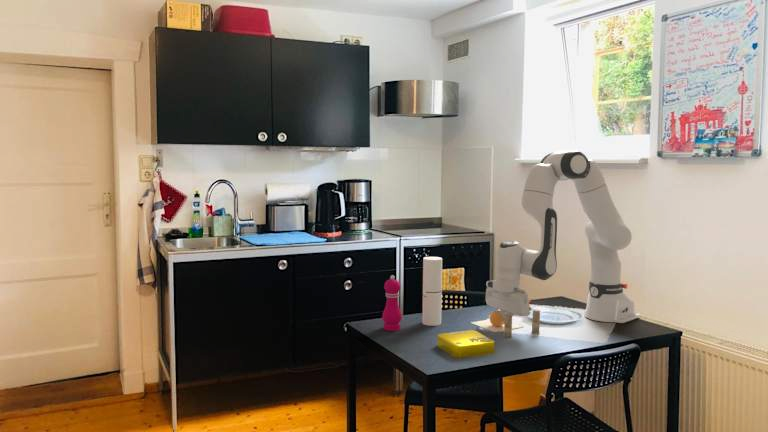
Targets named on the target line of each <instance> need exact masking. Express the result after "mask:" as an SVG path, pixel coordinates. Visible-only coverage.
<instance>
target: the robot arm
mask: <svg viewBox="0 0 768 432" xmlns="http://www.w3.org/2000/svg"><path fill="white" fill-rule="evenodd" d="M568 180H571V181H572V182H573V184H574V186H575V190H576V192H577V195H578V198H579V201H580V204H581V207H582V209H583V212H584V213H585V214H586V216H587V217H588V219H589V221H588V222H587V223H586V225H585V228H584V233H585V236H586V238H587V242H588V248H589V255H590V280H589V283H588V291H589V292H588V295H587V300H586V305H585V306H586V307H585V309H584V317H585V318H587V319H589V320H593V321H597V322H602V323H603V322H604V323H618V324H625V323H627V322H631V321H633V320H635V319H639V318H641V313H639V312H637V311H635V302H634V301H633V299H631V297H629V296H628V295H626V293H625V292H624V289H625V290H627V289H628V283H624V282H622V283H621V272H622V271H621V269H622V263H621V260H620V257H619V254H618V251H620V250H624V249H626V248H627V247H628V246H629V245H630V244H631V242H632V232H631V230H630V228H629V227H628V226H627V225H626V223H625V222H624V220H623V219H622V216H621V214H620V212H619V211H618V209H617V208H616V206H615V204H614V202H613V199H612V197H611V196H612V195H611V194H610V190H609V188H608V185H607V183H606V180H605V177H604V175H603V173H602V170H601V168H600V167H599V165H598V164H597V162H596V161H594V159H591V158H590V159H589V158H587V156H586V155H585V154H584V153H583V152H581V151H578V150H576V149H575V150H573V149H572V150H560V151H557V152H551V153H549V154H547V155H546V154H545V156H544V157H542V159H541V160H540V163H537V164H535V165H532V166H531V168H529V172H528V174H527V176H526V180H525V182H524V186H523V191H522V196H521V207H522V209H523V210H524V212H525V213H526V214H527V215H528V216H529V217H531V218H532V219H534V220H535V221H537V222H538V224H539V226H540V232H541V233H540V248H539V250H534V249H530V248H527V247H524V246H522V245H521V244H520V242H519V241H516V240H507V241H506V240H505V241H503V242H500V244H499V245H498V247H497V252H496V262H495V263H496V264H495V265H496V274H495V279H493V280H492V279H491V280H487V281H486V283H485V285H486V290H485V302H486V305H487V306H489V307H491V308H492V307H493V308H495V309H498V310H499V311H500V313H501V316H502V322H504V321H505V315H506V314H510V315H512V316H513V315H516V316H519V317H525V316H528V315H529V313H530V311H529V306H530V303H529V301H528V300H529V297H528V293H527V292H526V290H524V289H521V275H524V276H529V277H532V278H536V279H538V280H541V281H547V280H549V279H550V278H552V277H553V276H554V275H555V273H557V272H556V271H557V267H558V264H557V263H558V261H557V235H558V215H557V212H556V210H555V209H554V205H553V203H554V202H553V200H554V199H553V198H554V193H555V192H554V191H555V186H556V185H557V183H558V182H559V181H568Z"/></svg>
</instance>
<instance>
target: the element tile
mask: <svg viewBox="0 0 768 432" xmlns="http://www.w3.org/2000/svg"><path fill="white" fill-rule="evenodd" d="M436 345H437V347H438V348H439V349H441V350H443V351H444V352H445V353H446V354H448V355H450V356H451V357H453V358H455V359H458V358H459V359H463V358H471V357H479V356H484V355H492V354H495V340H493V339H491V338H490V337H488V336H486V335H484V334H482V333H480V332H479V331H476V330H473V329H470V330H461V331H452V332H445V333H443V332H442V333H438V335H437V344H436Z"/></svg>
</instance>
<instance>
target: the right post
mask: <svg viewBox="0 0 768 432" xmlns="http://www.w3.org/2000/svg"><path fill="white" fill-rule="evenodd" d="M531 320H532V321H531V333H532V332H533V334H539V333H540V322H541V310H540V309H532V319H531Z"/></svg>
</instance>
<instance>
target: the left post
mask: <svg viewBox="0 0 768 432" xmlns="http://www.w3.org/2000/svg"><path fill="white" fill-rule="evenodd" d="M512 323H513V315H510V314H506V315H505V321H504V331H503V337H504V338H505V339H512V333H513V332H512V331H513V329H512Z"/></svg>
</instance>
